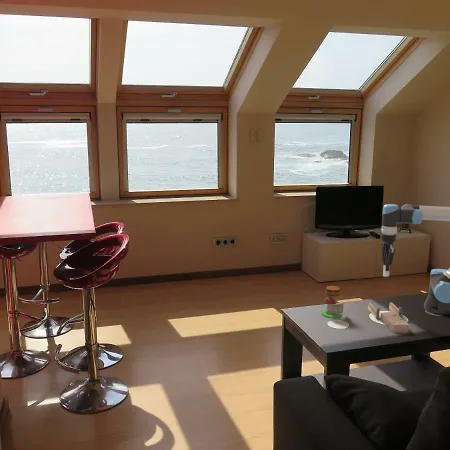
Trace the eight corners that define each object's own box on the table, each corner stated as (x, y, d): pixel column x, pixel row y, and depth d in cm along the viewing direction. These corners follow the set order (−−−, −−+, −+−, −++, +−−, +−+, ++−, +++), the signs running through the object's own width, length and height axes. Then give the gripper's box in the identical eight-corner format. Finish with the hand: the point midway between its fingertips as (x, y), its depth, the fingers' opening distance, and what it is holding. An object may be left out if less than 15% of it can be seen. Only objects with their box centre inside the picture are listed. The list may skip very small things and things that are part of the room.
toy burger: (314, 313, 269) (316, 287, 266) (330, 308, 276) (331, 283, 273) (331, 320, 260) (333, 293, 257) (347, 315, 267) (349, 288, 264)
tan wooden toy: (391, 309, 276) (392, 299, 274) (401, 318, 263) (402, 308, 261) (367, 309, 275) (368, 299, 273) (376, 319, 262) (377, 308, 260)
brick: (409, 332, 247) (410, 323, 246) (393, 333, 246) (394, 324, 245) (394, 319, 263) (395, 311, 262) (379, 320, 262) (380, 311, 261)
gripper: (377, 230, 268) (374, 272, 273) (386, 236, 255) (383, 280, 260) (390, 230, 268) (387, 272, 273) (401, 236, 256) (397, 279, 261)
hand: (385, 276), depth 267 cm, fingers closed
